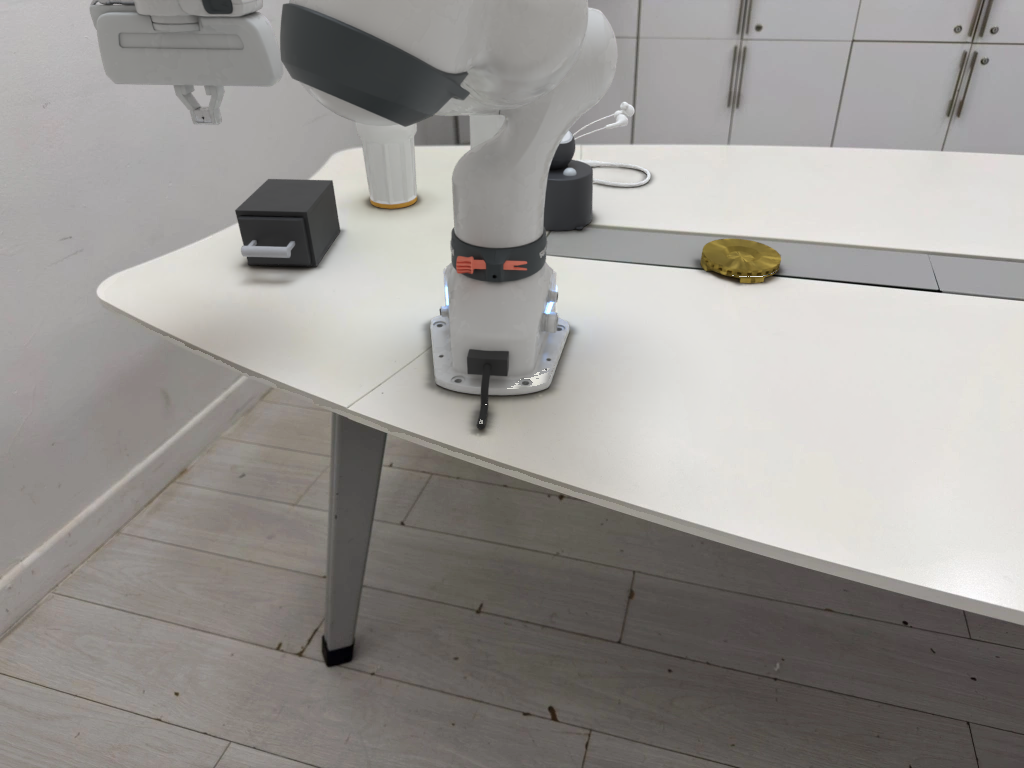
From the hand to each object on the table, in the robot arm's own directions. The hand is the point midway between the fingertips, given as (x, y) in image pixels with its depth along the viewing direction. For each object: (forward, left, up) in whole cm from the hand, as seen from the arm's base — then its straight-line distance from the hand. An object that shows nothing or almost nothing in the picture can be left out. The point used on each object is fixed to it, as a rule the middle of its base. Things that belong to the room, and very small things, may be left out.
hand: (208, 123), depth 82 cm
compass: (+17, -73, -25) cm, 79 cm away
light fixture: (+36, -44, -25) cm, 62 cm away
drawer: (+16, 0, -24) cm, 29 cm away
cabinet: (+20, 0, -25) cm, 32 cm away
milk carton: (+55, -31, -25) cm, 68 cm away
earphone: (+61, -54, -25) cm, 85 cm away
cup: (+43, -12, -25) cm, 51 cm away
